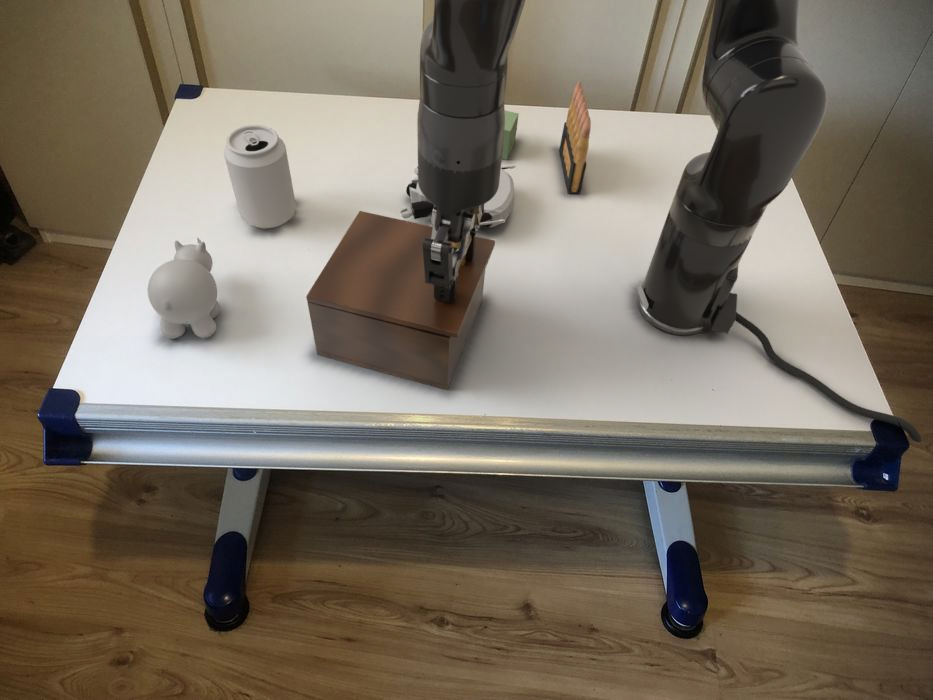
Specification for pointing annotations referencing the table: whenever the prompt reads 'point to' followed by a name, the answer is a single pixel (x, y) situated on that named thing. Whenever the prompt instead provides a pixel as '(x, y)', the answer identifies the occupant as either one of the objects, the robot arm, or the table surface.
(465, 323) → the chest
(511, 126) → the block
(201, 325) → the chubby cartoon animal
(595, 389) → the table surface
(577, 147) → the ammunition clip
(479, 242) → the lid
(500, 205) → the robot toy
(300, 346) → the table surface
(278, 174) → the can
